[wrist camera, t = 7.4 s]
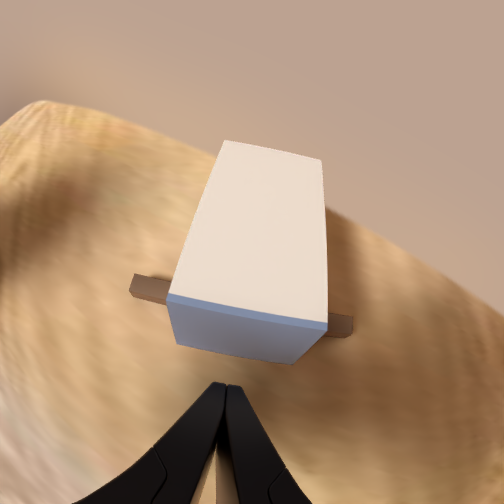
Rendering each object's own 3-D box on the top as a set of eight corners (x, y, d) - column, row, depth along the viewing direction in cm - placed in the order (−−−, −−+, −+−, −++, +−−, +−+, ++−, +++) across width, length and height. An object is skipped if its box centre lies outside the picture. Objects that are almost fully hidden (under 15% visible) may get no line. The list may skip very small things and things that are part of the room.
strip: (344, 338, 15) (352, 334, 15) (133, 296, 15) (128, 290, 14) (345, 321, 16) (352, 316, 15) (138, 280, 16) (134, 273, 15)
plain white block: (327, 330, 9) (321, 160, 16) (165, 300, 9) (224, 139, 15) (292, 365, 13) (300, 214, 19) (176, 343, 13) (218, 197, 19)
